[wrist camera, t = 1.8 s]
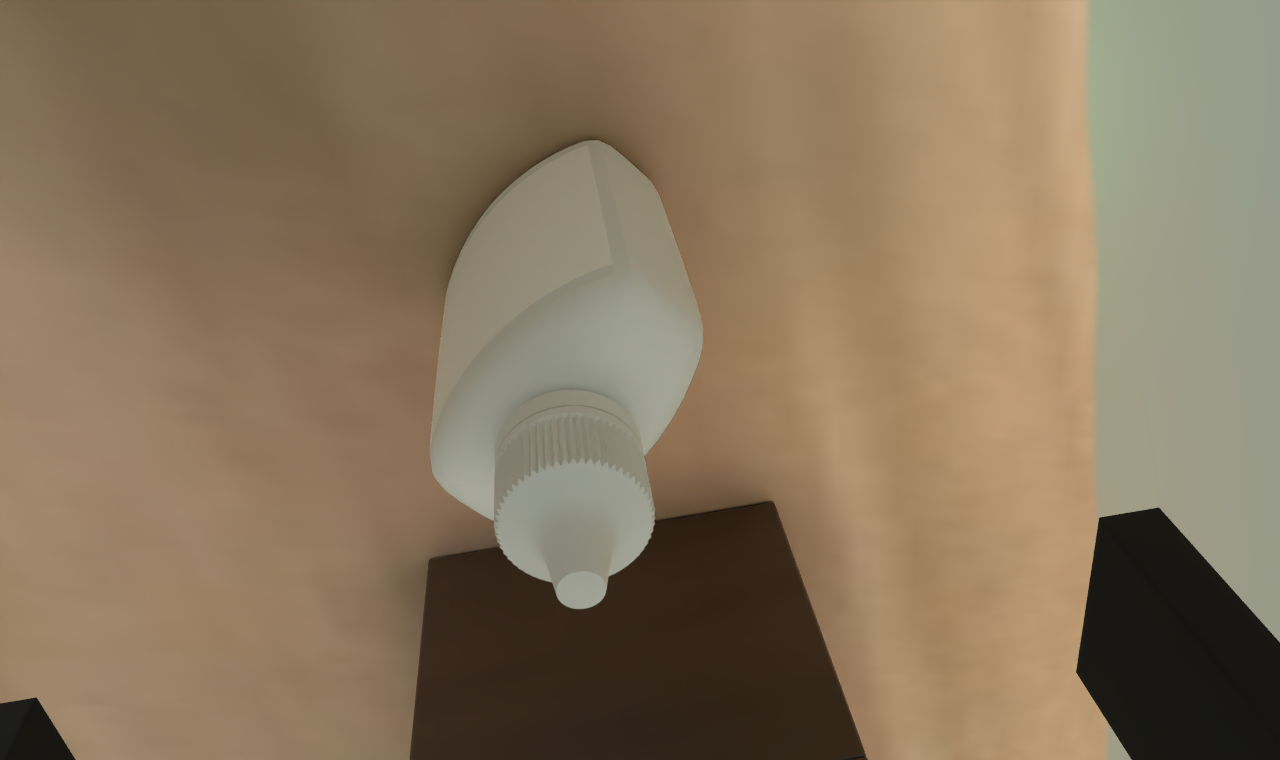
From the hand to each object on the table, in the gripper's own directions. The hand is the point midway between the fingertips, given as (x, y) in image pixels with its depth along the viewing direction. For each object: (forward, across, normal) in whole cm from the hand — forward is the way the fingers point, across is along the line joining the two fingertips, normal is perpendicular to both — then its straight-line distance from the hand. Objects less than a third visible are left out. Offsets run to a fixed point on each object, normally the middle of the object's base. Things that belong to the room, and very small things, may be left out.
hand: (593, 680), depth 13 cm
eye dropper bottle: (+14, 0, 0) cm, 14 cm away
